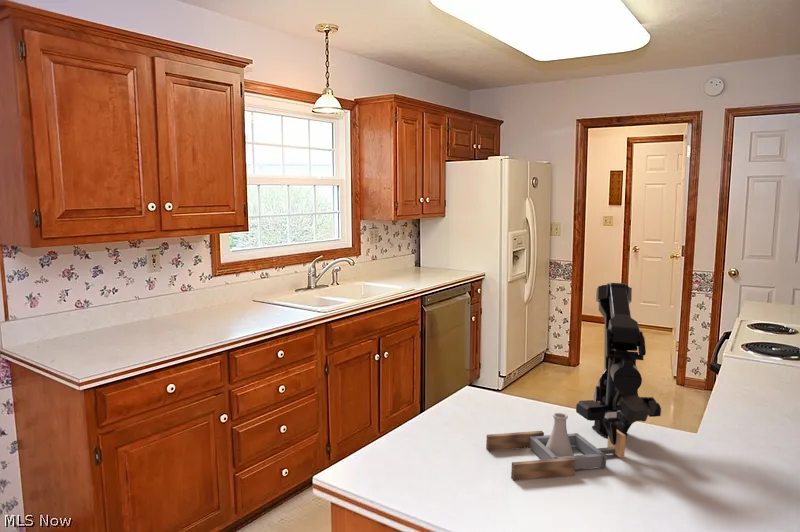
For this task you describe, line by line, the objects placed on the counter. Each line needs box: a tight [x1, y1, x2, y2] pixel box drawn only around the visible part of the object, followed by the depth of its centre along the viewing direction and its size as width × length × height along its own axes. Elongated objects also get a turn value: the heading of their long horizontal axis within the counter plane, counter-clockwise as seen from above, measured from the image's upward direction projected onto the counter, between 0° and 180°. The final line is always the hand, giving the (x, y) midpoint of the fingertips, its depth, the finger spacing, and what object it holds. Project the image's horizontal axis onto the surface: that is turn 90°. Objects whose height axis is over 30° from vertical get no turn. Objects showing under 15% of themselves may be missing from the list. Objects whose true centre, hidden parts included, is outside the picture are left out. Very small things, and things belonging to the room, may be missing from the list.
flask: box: [546, 412, 575, 457], centre depth 132 cm, size 7×7×10 cm
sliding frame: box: [529, 430, 627, 471], centre depth 133 cm, size 19×12×5 cm, turn 103°
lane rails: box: [485, 430, 576, 482], centre depth 130 cm, size 14×16×4 cm
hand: (616, 443), depth 135 cm, fingers closed on sliding frame
